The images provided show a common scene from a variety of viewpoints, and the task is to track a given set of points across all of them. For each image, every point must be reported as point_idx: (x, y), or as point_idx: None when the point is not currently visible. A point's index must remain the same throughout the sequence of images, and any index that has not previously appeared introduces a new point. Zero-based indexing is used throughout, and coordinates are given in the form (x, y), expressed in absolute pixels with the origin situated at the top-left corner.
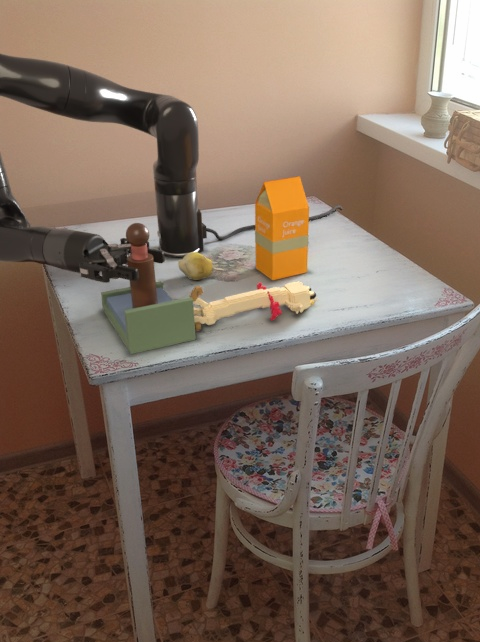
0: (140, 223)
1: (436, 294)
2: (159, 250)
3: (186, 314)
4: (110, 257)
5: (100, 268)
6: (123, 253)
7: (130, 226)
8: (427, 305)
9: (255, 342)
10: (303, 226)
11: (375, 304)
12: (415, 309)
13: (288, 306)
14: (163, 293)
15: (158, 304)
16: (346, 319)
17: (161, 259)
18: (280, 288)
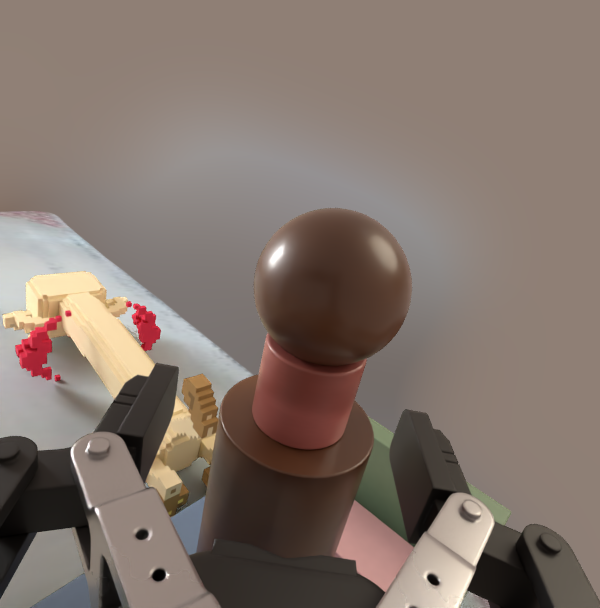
0: (321, 209)
1: (12, 220)
2: (152, 372)
3: None
4: (432, 551)
5: (574, 570)
6: (247, 545)
7: (387, 240)
8: (55, 230)
9: (242, 376)
10: None
11: (47, 260)
12: (70, 238)
13: (119, 315)
14: (61, 604)
15: (386, 438)
16: (114, 286)
17: (173, 399)
18: (77, 298)
